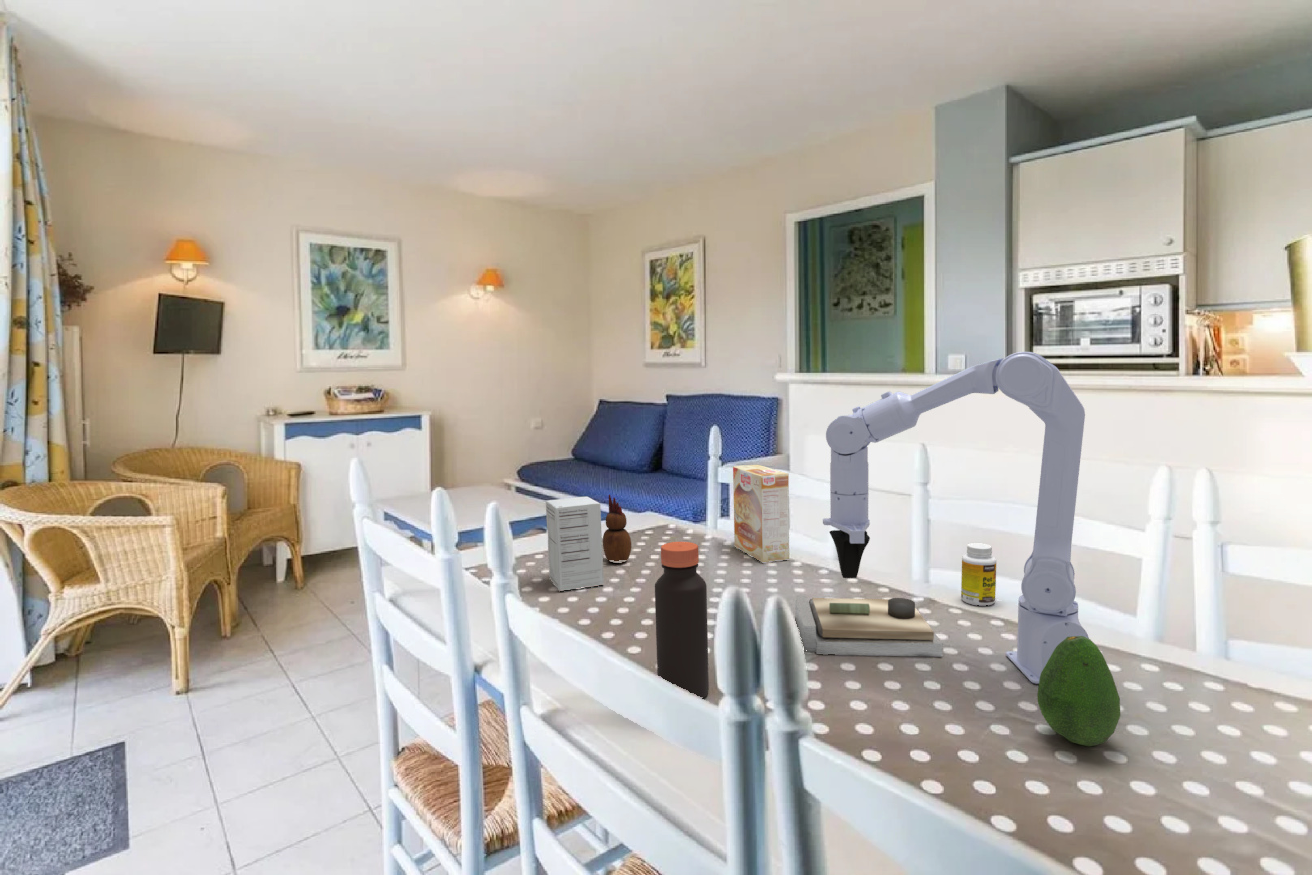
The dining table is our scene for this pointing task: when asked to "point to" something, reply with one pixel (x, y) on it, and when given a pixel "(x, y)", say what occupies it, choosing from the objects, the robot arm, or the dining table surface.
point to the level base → (858, 640)
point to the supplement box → (574, 542)
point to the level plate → (869, 618)
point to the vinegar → (682, 619)
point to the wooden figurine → (616, 534)
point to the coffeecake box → (761, 512)
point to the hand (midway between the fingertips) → (849, 576)
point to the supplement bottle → (978, 575)
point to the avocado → (1079, 693)
